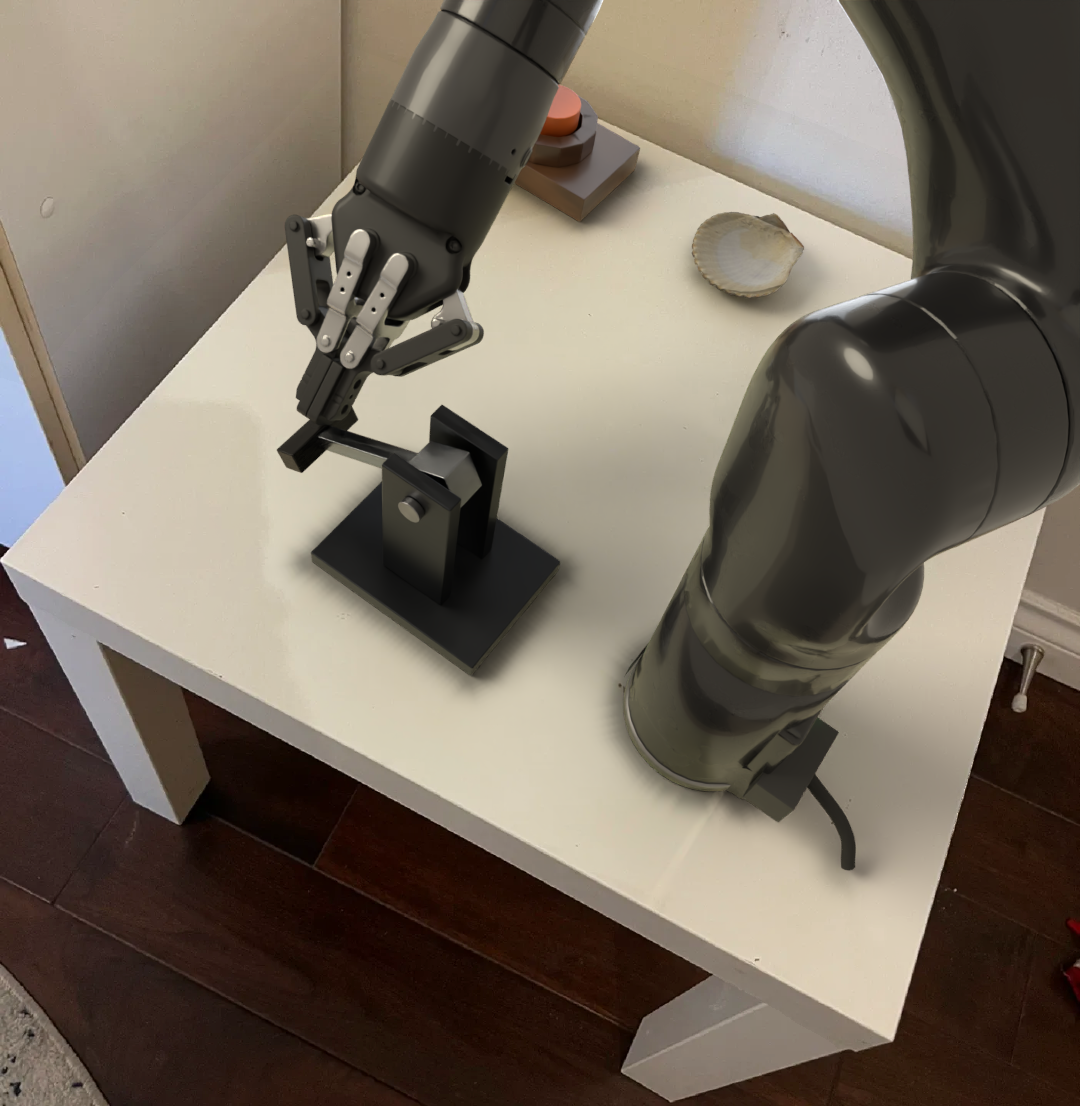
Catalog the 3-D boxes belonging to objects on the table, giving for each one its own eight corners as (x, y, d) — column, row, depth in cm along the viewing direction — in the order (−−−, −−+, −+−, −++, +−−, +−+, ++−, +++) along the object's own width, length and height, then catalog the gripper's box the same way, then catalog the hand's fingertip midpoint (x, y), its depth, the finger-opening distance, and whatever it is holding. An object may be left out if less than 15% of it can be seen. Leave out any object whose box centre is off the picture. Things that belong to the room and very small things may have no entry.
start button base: (635, 170, 83) (645, 127, 80) (579, 222, 80) (588, 180, 76) (514, 100, 86) (519, 56, 82) (455, 148, 82) (458, 104, 79)
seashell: (674, 263, 81) (723, 319, 76) (673, 229, 79) (724, 285, 74) (767, 228, 82) (822, 282, 78) (769, 194, 80) (826, 247, 75)
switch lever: (289, 474, 60) (271, 443, 59) (345, 421, 63) (330, 389, 61) (441, 529, 54) (426, 496, 52) (498, 468, 56) (486, 434, 54)
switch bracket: (311, 561, 63) (296, 448, 52) (406, 466, 67) (409, 344, 57) (470, 676, 60) (487, 581, 50) (558, 570, 64) (590, 462, 54)
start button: (587, 120, 80) (591, 100, 79) (558, 145, 78) (561, 126, 77) (545, 96, 81) (548, 76, 79) (515, 120, 79) (518, 101, 78)
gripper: (323, 51, 52) (185, 355, 57) (537, 178, 49) (374, 485, 54) (390, 94, 59) (263, 361, 64) (581, 207, 56) (433, 476, 61)
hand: (314, 418), depth 59 cm, fingers closed
